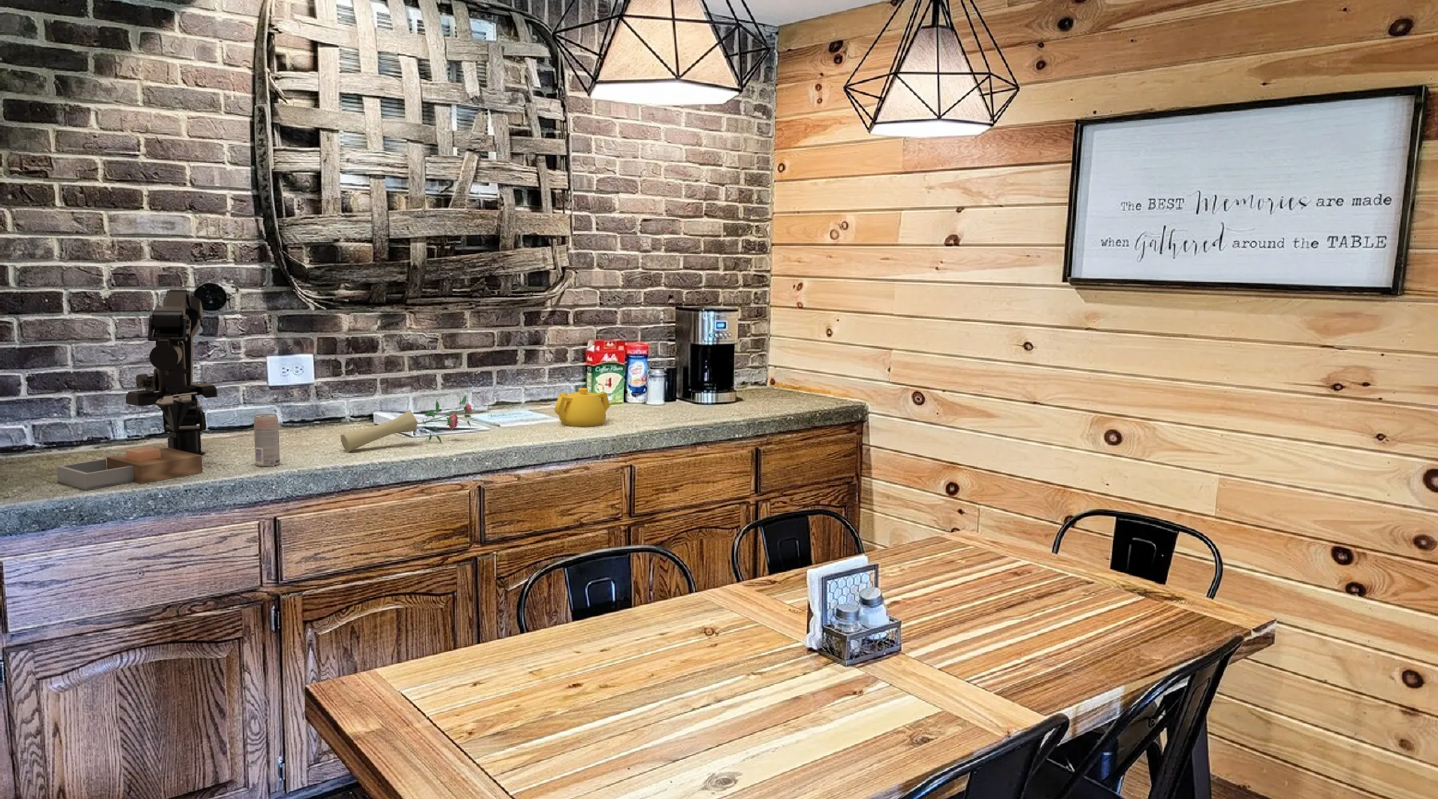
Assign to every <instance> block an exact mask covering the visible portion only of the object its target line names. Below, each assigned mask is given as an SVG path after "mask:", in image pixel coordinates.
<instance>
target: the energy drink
mask: <svg viewBox="0 0 1438 799" xmlns="http://www.w3.org/2000/svg"><path fill="white" fill-rule="evenodd" d="M253 431H254V433H253V435H254V459H255V461H254V462H255V465H256V466H257V465H258V467H260V466H270V467H274V466H273V465H276V466H278V465H279V464H280V463H281V460H280V431H279V417H278V415H277V414H274V413H262V414H261V413H260V414H256V415H254V418H253Z"/></svg>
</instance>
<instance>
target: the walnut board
mask: <svg viewBox="0 0 1438 799" xmlns="http://www.w3.org/2000/svg"><path fill="white" fill-rule="evenodd" d="M159 449H160V452H161V458H157V459H151V460H145V461H135V460H131V459H127V458H126V453H125V454H117V455H111V456H105V457H106V458H105V459H106V466H107V470H109V469H115V468H121V467H127V466H133V467H134V482H133V483H138V484H146V483H153V482H159V481H164V480H168V479H174V478H180V477H185V476H191V475H195V474H200V473H203V472H204V471H203V469H204V468H203V456H202V455H203V454H202V455H198V454H193V453H189V452H185V451H180V450H176V449H172V448H168V446H166V447H160V448H159Z"/></svg>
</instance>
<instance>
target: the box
mask: <svg viewBox="0 0 1438 799" xmlns="http://www.w3.org/2000/svg"><path fill="white" fill-rule="evenodd" d="M56 477H57V482H58V483H60V484H64V485H67V486H71V487H74V488H78V489H82V490H85V491H91V490H96V489H101V488H106V487H112V486H118V485H123V484H127V483H135V482H134V467H133V466H127V467H121V468H115V469H109V470H107V459H106V458H100V459H93V460H87V461H81V462H75V463H70V464H69V463H68V464H61V465H57V466H56Z"/></svg>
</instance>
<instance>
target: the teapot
mask: <svg viewBox="0 0 1438 799" xmlns="http://www.w3.org/2000/svg"><path fill="white" fill-rule="evenodd" d="M588 390H589V389H588V388H586V387H580V388H578V391H576V392H575V391H574V392H570V393H569V394H568V393H567V392H561V393H560V394H559V396H558V397H557V400H556V405H555V407H554V413H555V414H556V415H558V418H559V420H560V422H561V423H562V424H563V425H564V426H569V427H575V428H576V427H577V428H589V427H598V426H599V427H600V426H601V425H602V424H603V423H604V422H605V421H606V420H607V414H606V413H607V412H606V411H607V410H608V409H609V408H610V407H611V405H610V401H609V397H608V395H607V394H608V393H607V392H606V391H600V392H597V393H595V392H588Z"/></svg>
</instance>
